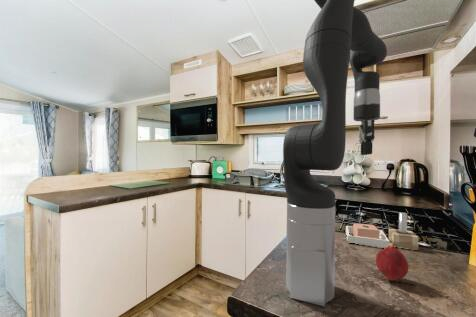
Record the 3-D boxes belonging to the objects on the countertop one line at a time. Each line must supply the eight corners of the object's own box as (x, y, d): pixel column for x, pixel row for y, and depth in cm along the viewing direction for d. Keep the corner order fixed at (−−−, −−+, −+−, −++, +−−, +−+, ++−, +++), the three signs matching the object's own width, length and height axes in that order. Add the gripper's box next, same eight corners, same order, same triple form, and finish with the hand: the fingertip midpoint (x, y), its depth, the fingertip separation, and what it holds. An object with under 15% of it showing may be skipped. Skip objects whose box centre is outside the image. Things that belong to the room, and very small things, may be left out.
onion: (414, 290, 44) (414, 250, 44) (382, 286, 45) (383, 247, 45) (399, 275, 49) (399, 240, 49) (371, 272, 51) (371, 237, 51)
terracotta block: (379, 243, 67) (379, 230, 67) (357, 241, 69) (357, 228, 69) (373, 236, 73) (373, 224, 73) (353, 234, 74) (353, 222, 74)
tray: (389, 249, 64) (389, 241, 64) (347, 243, 68) (347, 235, 68) (381, 237, 74) (381, 230, 74) (345, 232, 78) (345, 225, 78)
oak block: (418, 251, 63) (418, 237, 63) (393, 247, 65) (393, 234, 65) (411, 243, 68) (411, 231, 68) (388, 240, 71) (388, 228, 71)
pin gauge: (407, 247, 65) (408, 214, 65) (399, 246, 66) (400, 213, 66) (405, 244, 67) (406, 212, 67) (397, 243, 68) (398, 212, 68)
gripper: (351, 110, 79) (351, 155, 79) (355, 101, 66) (355, 154, 66) (376, 109, 76) (375, 155, 76) (384, 98, 63) (384, 154, 63)
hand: (366, 154), depth 71 cm, fingers open, 8 cm apart
